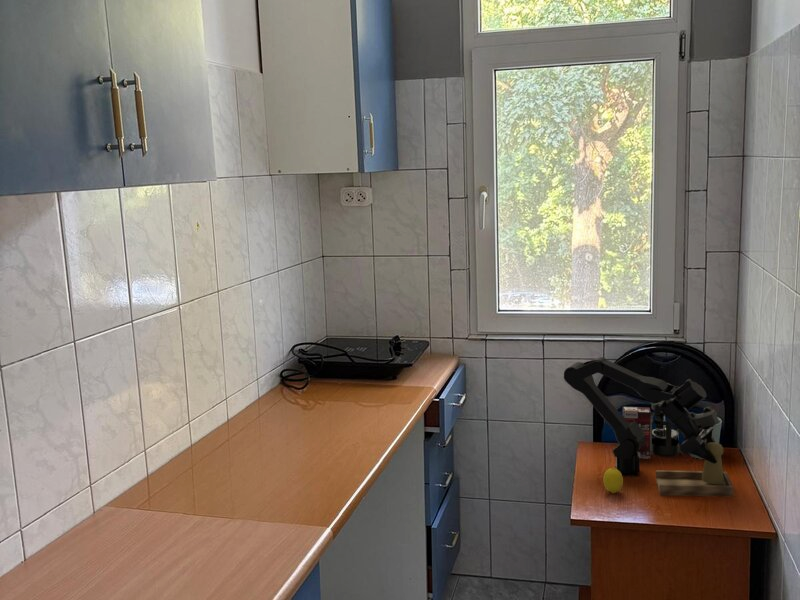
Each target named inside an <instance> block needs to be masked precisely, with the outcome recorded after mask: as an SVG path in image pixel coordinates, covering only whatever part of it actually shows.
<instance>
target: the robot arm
mask: <svg viewBox="0 0 800 600" xmlns="http://www.w3.org/2000/svg"><path fill="white" fill-rule="evenodd" d="M595 374H601V375H603V376H604V377H607V378H609V379H612V380H613V381H615V382H617V383H620V384H622V385H624V386H626V387H628V388H631V389H632V390H634V391H635V392H636V393H637V394H638V395H639V396H640V397H642V398H643V399H644V400H646V401H648V402H649V403H650V402H651V403H654V404H656V403H657V404H656V405H655V411H654V413H655V415H657V414H658V413H659V412H661V411H662V412H663V413H664V414H665V418H667V419H668V420H669V421H671V422H672V423H673V424H674V425H673V427H672V429H673V430H675V431H677V429H678V430H679V433H680V434H681V435H682V436H683V438H682V440H683V442H681V444H679V451H680V453H681V455H682V456H687V454H689V455H690V453H691V454H693V455H696V456H698V457H701V458H703V459H705V460H707V461H709V462H712V463H714V464H715V463H717V460H716V458H715V457H714V455H713V454H712V453H711V451H710V450H709V449H708V447H707V445H706V444H707V443H710V442H714V443H716V442H715V440H714V438H713V432H714V428H713V429H712V430H709V428H710V427H713V426H714V425H716V424H717V421H719V420H718V418H719V417H718V416H717V415H718V412H717V411H716V410H715V409H713V407H711V406H706V407H704V408H703V411H702V412H701V413H698V414H699V415H696V414H697V413H695V412H694V411H691V412H689V410H688V409H692V408H694V407H695V406H696V405H698V404H700V402H702V401H703V400H705V398H707V391H705V389H704V388H703V386H702V385H701V384H698V383H697V382H695V381H693V380H692V379H691V378H688V379H687V380H686V381H685V382H684V383H683V384H682V385H680V386H677V385H673V384H671V383H669V384H667V383H668V382H666V380H663V379H660V378H656V377H653V376H644V375H640V374H639V373H636V372H634V371H632V370H630V369H627V368H625V367H624V366H622V365H619V364H616V363H615V362H612V361H610V360H608V359H607V358H605V357H603V356H600V357H597V358H595V359H591V360H588V361H585V362H580V361H577V362H575V363H573V364H572V365H570V366H568V367H567V368H566V369H565V370H564V371H563V380H564V382H566V383H567V384H568V385H569V386H571V388H572V389H574V390H575V391H577V392H579V393H581V394H583V396H584V397H585V398H586V399H587V400H588V402H589V403H590V404H591V405H592V406H593V407H594V408H595V410H596V411H597V412H598V413H599V414H600V416H601V417H602V418H603V419H604V420H605V422H606V423H607V424H608V426H610V428H611V429H612V430H613V432H614V435H615V438H616V441H617V443H618V445H617V446H616V447H615V448H614V449H613V450H612V453H613V455H614V457H615V467H614V468H615V469H617V470H619V471H620V472H621V474H622V477H639V473H640V472H641V471H640V470H641V463H640V462H641V460H640V459H641V458H639V456H638V454H637V451H638V450H639V449H640V448H641V447H642V445H643V444H644V443H645V438H646V437H645V434H644V433H643V432H644V430H643V429H641V428H640V427H639V425H638V424H637V422H636V421H634V422H633V423H630V422H628V421H626V420H625V419H624V418H623V414H621V412H620V411H618V409H617V408H616V407H615V406H614V405H613V404H612V402H611V401H610V400H609V399H608V397H606V395H605V394H604V393H603V391H601V389H600V388H599V387H598V386H597V384H596V383H595V380H594V376H593V375H595ZM670 384H671V385H670ZM671 399H672V400H671ZM661 401H664V402H663V403H661V404H658V403H659V402H661ZM717 417H718V418H717ZM705 460H704V461H705Z"/></svg>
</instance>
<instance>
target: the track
mask: <svg viewBox="0 0 800 600" xmlns="http://www.w3.org/2000/svg"><path fill="white" fill-rule="evenodd" d="M702 473H703V470H668V469H667V470H665V469H662V470H661V469H656V470H655V482H656V487H657V489H658V493H659V496H676V497H677V496H678V497H679V496H682V497H683V496H685V497H711V496H712V498H713V496H716V497H717V498H719V497H720V498H721V497H722V498H734V493H735V490H734V489H735V487H734V484H733V483H732V480H731V479H730V476H729V474H728V472H727V471H723V478H724V482H723V483H721V484H709V483H706V482H704V481H703V480H702ZM716 497H715V498H716Z"/></svg>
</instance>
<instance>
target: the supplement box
mask: <svg viewBox="0 0 800 600" xmlns="http://www.w3.org/2000/svg"><path fill="white" fill-rule="evenodd" d="M651 414H652V412H651V407H639V406H637V407H636V406H622V416H623V418H624V419H625V420H626V421H628V422H630V423H633V422H634V421H636V422H637V424H638V425H639V427H640V428H641V429H643V430H644V432H643V433H644V434H645V437H646V438H645V443H644V444H643V445H642V447H641V448H640V449H639V450H638V451H637V454H638V456H639V459H648V458H649V459H651V453H650V433H651ZM649 459H648V460H649Z"/></svg>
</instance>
